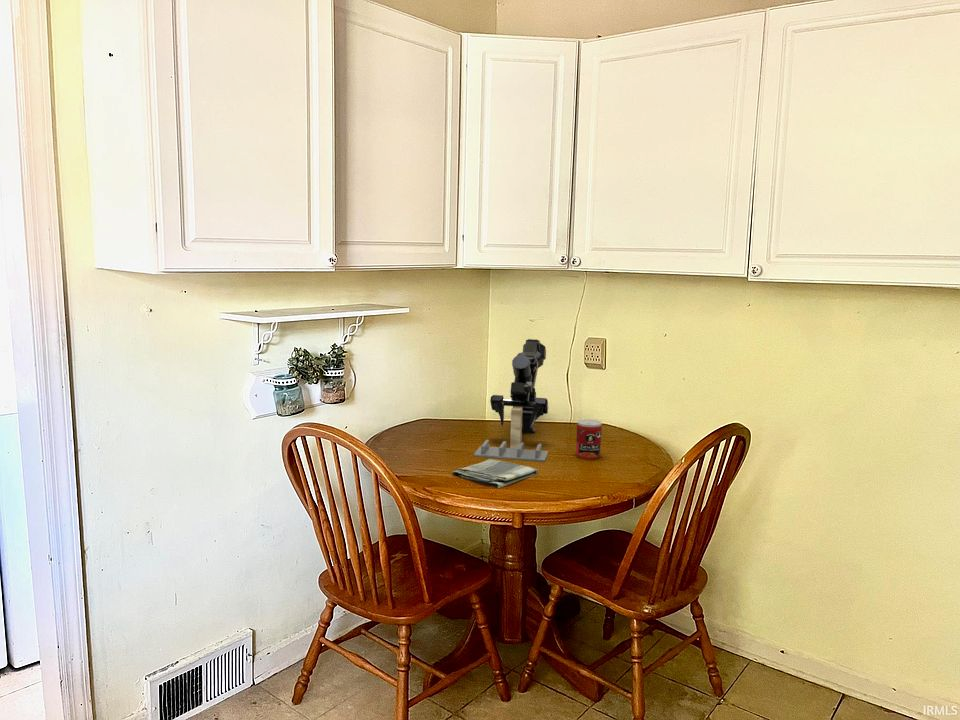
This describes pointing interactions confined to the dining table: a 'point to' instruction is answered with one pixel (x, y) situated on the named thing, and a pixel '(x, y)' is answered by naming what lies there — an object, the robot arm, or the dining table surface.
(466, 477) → the dish towel
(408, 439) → the dining table surface
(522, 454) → the slotted rack
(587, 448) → the canned food
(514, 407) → the birch block
